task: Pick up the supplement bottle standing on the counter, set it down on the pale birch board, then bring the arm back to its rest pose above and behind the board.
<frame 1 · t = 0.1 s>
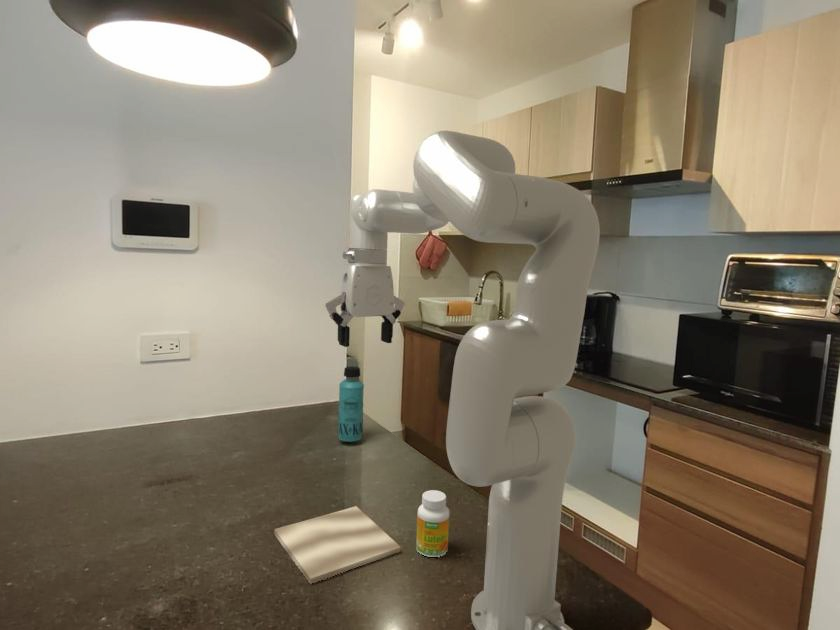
hand: (365, 343, 104), 31 cm above the table, tool pointing down, fingers open, 9 cm apart
supplement bottle: (431, 550, 88), on the table
beverage bottle: (350, 443, 134), on the table
birch board: (336, 543, 88), on the table
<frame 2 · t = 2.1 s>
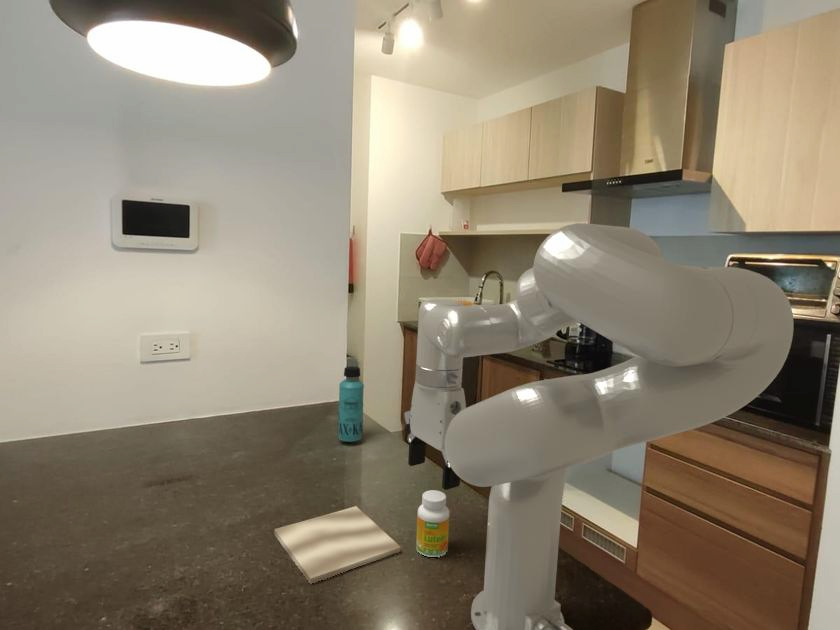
hand: (432, 475, 86), 13 cm above the table, tool pointing down, fingers open, 9 cm apart
nothing on the table moved.
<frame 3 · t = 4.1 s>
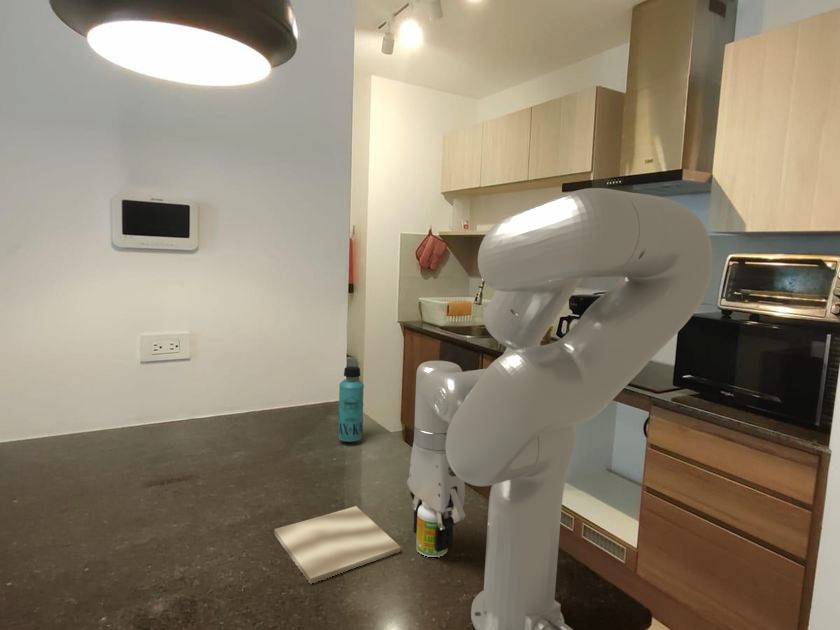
hand: (432, 538, 87), 2 cm above the table, tool pointing down, fingers closed on supplement bottle, 5 cm apart
supplement bottle: (431, 550, 88), on the table, touching gripper
everything else where it was.
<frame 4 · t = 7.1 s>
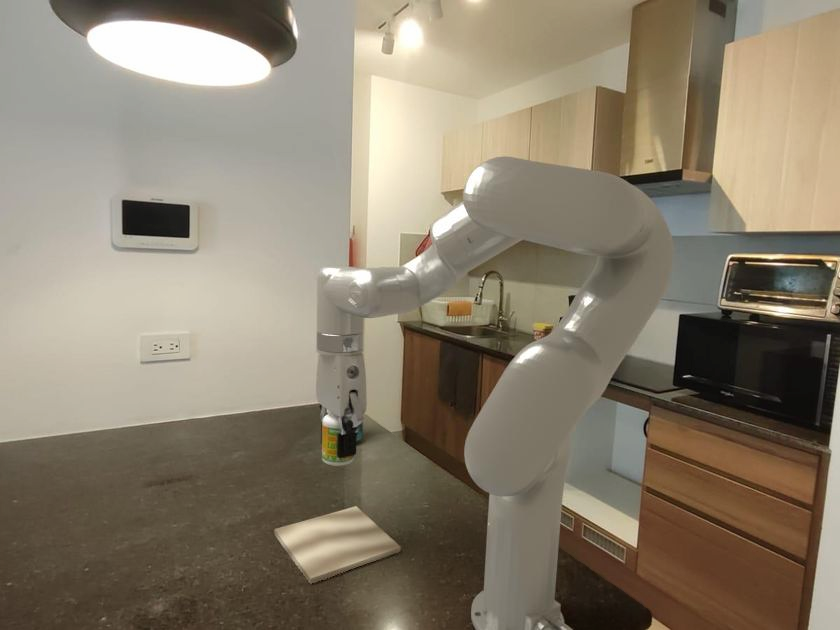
hand: (338, 448, 86), 17 cm above the table, tool pointing down, fingers closed on supplement bottle, 5 cm apart
supplement bottle: (338, 460, 86), point 15 cm above the table, touching gripper
everything else where it was.
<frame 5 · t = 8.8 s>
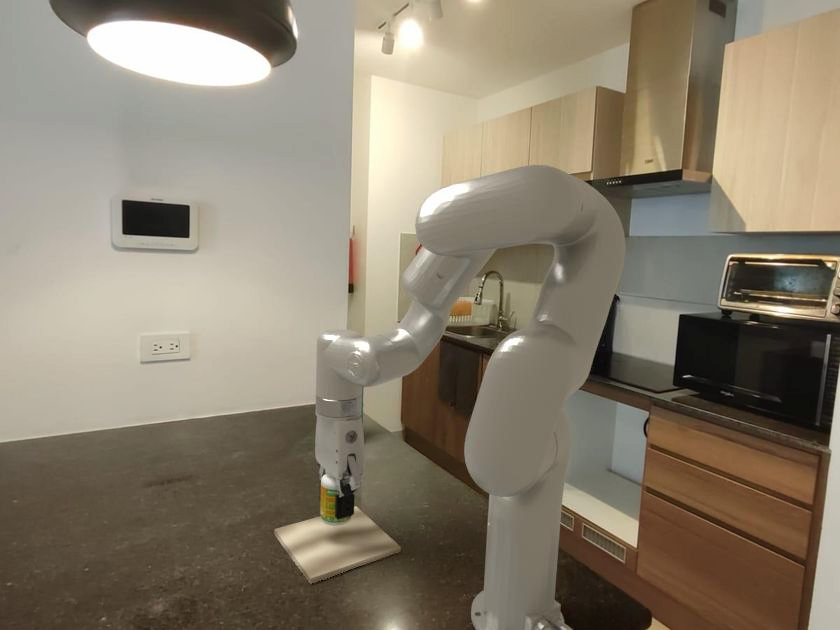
hand: (336, 507, 88), 7 cm above the table, tool pointing down, fingers closed on supplement bottle, 5 cm apart
supplement bottle: (336, 519, 88), point 4 cm above the table, touching gripper
everything else where it was.
when the fingers open (5 cm above the table, at t = 10.0 s): supplement bottle drops 2 cm, resting on birch board.
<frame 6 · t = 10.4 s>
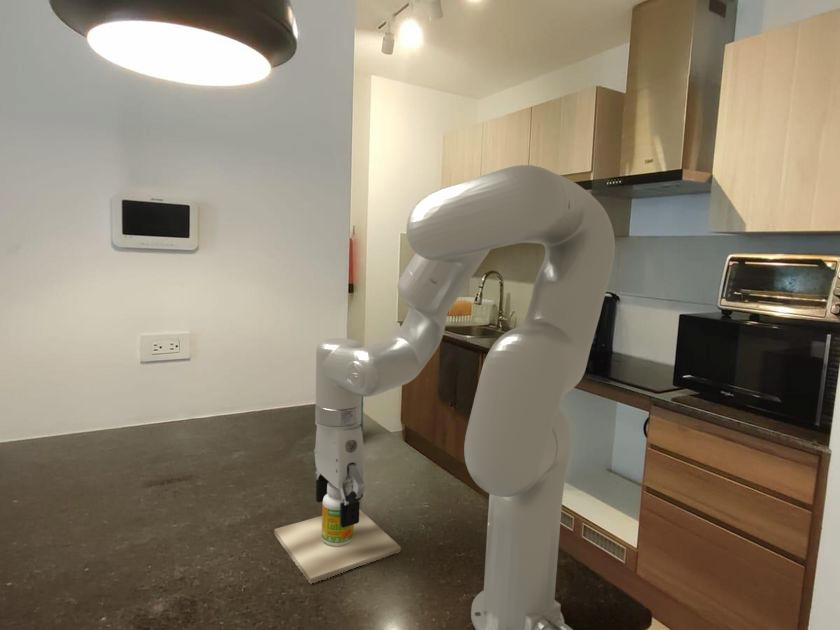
hand: (336, 511, 88), 6 cm above the table, tool pointing down, fingers open, 9 cm apart
supplement bottle: (337, 539, 88), point 1 cm above the table, touching birch board
everything else where it was.
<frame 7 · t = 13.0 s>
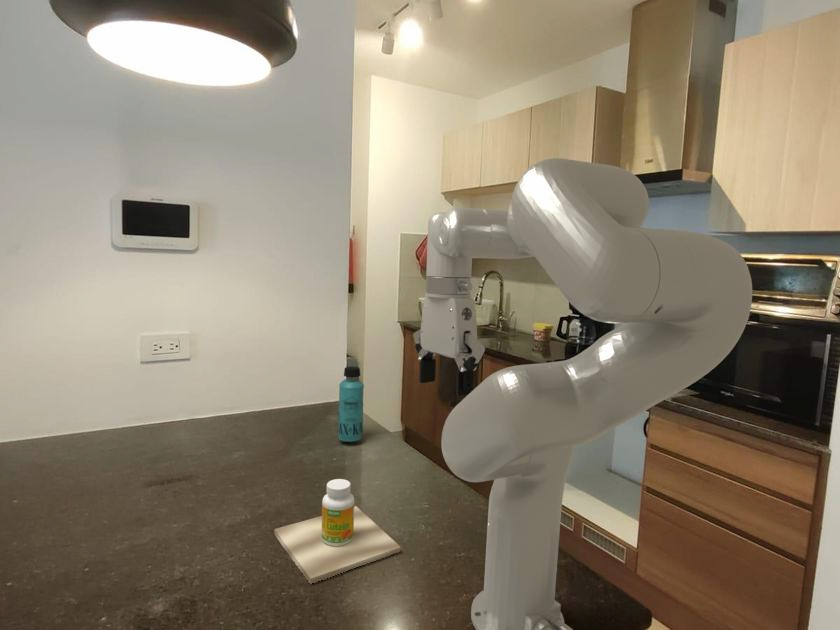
hand: (444, 387, 88), 27 cm above the table, tool pointing down, fingers open, 9 cm apart
nothing on the table moved.
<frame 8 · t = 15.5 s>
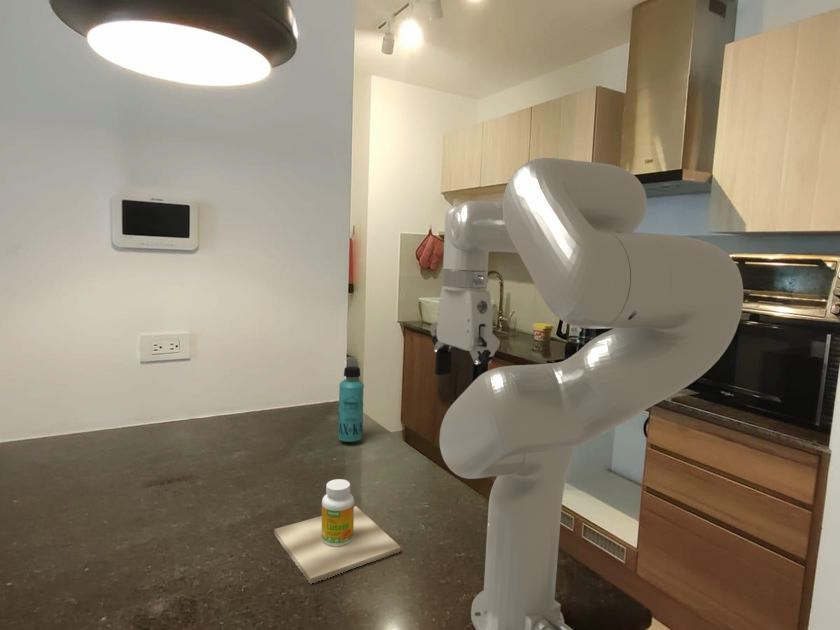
hand: (459, 380, 89), 28 cm above the table, tool pointing down, fingers open, 9 cm apart
nothing on the table moved.
at the end: supplement bottle inside the target area on the birch board (0.2 cm from its centre), point 0.8 cm above the birch board's base; supplement bottle tilted 0°; the gripper is holding nothing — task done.
